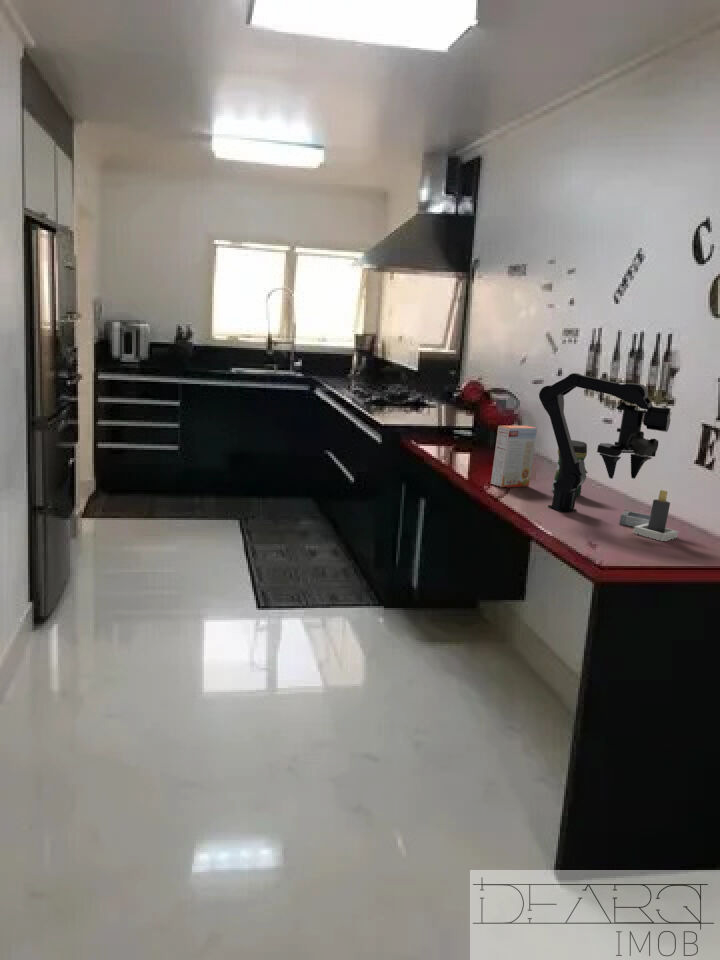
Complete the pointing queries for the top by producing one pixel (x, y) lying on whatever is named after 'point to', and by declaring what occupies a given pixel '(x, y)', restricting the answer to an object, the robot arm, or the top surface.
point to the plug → (659, 513)
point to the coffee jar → (580, 453)
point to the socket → (655, 533)
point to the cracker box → (513, 456)
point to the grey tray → (633, 518)
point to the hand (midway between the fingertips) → (622, 478)
